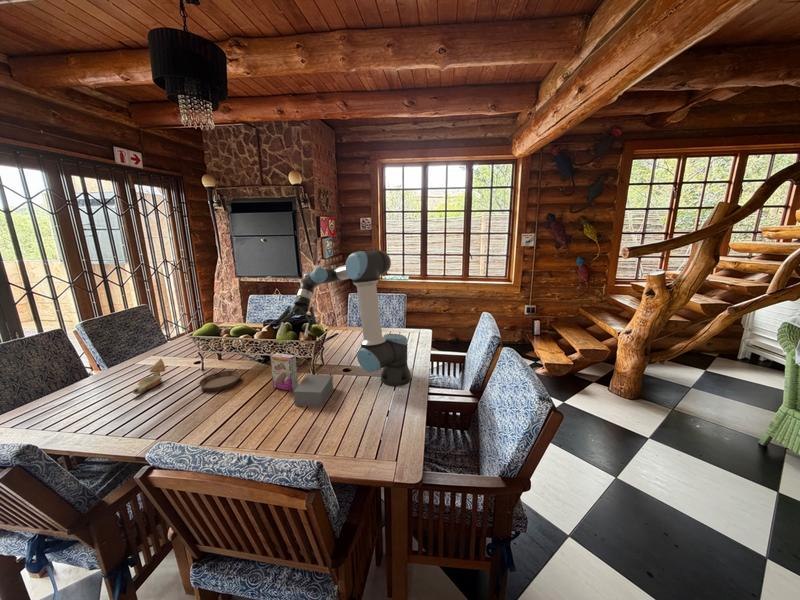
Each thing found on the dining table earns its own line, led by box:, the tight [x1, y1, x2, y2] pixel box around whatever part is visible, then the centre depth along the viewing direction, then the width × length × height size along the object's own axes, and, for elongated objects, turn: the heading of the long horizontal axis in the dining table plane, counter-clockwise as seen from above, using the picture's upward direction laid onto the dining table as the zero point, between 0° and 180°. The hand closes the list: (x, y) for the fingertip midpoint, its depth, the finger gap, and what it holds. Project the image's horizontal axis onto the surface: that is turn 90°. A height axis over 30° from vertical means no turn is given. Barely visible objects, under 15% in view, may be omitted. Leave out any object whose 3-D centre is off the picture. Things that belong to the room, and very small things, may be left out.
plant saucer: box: [198, 370, 241, 392], centre depth 156 cm, size 18×18×3 cm
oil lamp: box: [131, 358, 166, 395], centre depth 152 cm, size 9×21×10 cm, turn 6°
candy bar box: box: [269, 352, 299, 392], centre depth 150 cm, size 11×5×16 cm, turn 71°
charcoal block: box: [293, 373, 334, 408], centre depth 143 cm, size 12×16×7 cm
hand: (292, 335), depth 158 cm, fingers open, 13 cm apart
